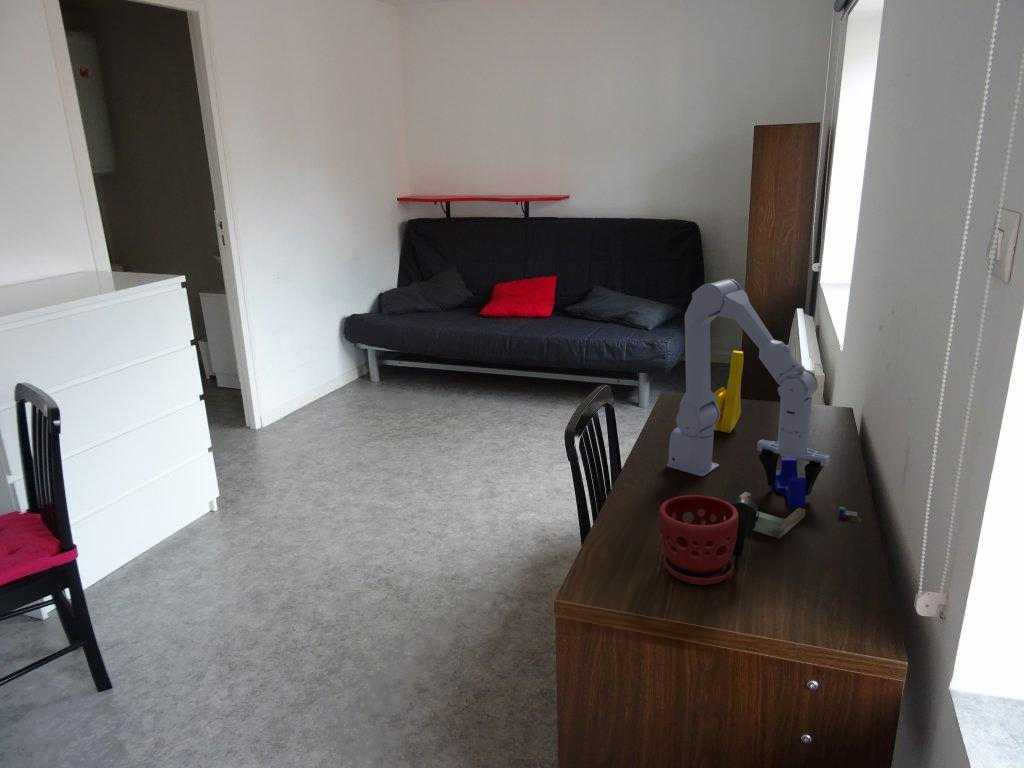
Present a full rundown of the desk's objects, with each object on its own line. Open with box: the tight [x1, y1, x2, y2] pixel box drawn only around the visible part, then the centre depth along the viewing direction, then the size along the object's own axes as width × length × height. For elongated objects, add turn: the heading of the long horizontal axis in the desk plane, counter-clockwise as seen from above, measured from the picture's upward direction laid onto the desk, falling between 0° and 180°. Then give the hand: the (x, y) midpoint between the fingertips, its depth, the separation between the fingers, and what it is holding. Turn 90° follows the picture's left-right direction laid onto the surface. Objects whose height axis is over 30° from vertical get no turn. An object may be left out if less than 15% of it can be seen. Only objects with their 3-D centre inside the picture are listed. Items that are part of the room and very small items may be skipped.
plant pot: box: [659, 494, 738, 585], centre depth 124 cm, size 13×13×12 cm
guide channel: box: [723, 491, 806, 539], centre depth 144 cm, size 13×12×3 cm
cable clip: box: [773, 456, 807, 508], centre depth 153 cm, size 12×4×6 cm, turn 169°
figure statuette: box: [713, 350, 745, 434], centre depth 188 cm, size 18×8×22 cm, turn 155°
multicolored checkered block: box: [838, 506, 862, 524], centre depth 142 cm, size 4×3×2 cm, turn 66°
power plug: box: [726, 496, 760, 570], centre depth 127 cm, size 6×8×12 cm
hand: (789, 488), depth 153 cm, fingers open, 7 cm apart
